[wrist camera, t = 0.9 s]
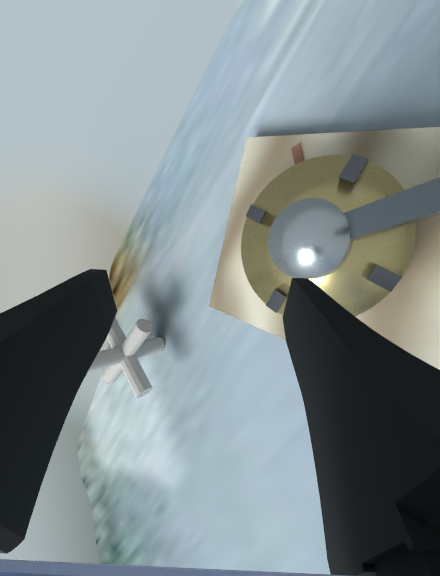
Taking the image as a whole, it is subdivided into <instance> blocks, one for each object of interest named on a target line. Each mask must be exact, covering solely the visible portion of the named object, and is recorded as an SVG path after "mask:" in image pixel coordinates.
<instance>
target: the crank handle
mask: <svg viewBox="0 0 440 576" xmlns="http://www.w3.org/2000/svg"><path fill="white" fill-rule="evenodd" d="M437 215H440V177H438V178H436V179H433V180H430V181H428V182H425V183H422V184H420V185H417V186H414V187H412V188H409V189H406V190H404V189H403V187H402V186H401V184H400V183H399V182H398V181H397V180H396V179H395V178H394V177H393V175H391V174H390V173H389V172H387V171H386V170H385V169H384V168H382V167H380V166H379V165H377V164H375V163H373V162H371V161H369V159H367V158H364V157H360V156H357V155H353V154H352V155H351V156H350V155H324V156H320V157H315V158H311V159H308V160H305V161H302V162H300V163H298V164H296V165H294V166H292V167H290V168H288V169H287V170H285V171H283V172H282V173H281V174H279V175H278V176H277V177H276V178H274V179H273V180H272V181H271V182H270V183H269V184H268V185H267V186H266V187H265V188H264V189H263V191H262V192H261V193H260V194H259V196H258V197H257V199H256V200H255V202H254V203H253V205H252V204H251V205H250V207H249V210H248V212H247V214H246V217H247V218H246V221H245V224H244V227H243V232H242V238H241V257H242V264H243V268H244V271H245V274H246V277H247V279H248V282H249V283H250V285H251V287H252V289H253V290H254V291H255V293H256V294H257V296H258V297H259V298H260V299H261V300H262V301H263V302H264V303H265V304H266V306H267V307H268V308H270V309H271V310H273V311H274V312H275V313H279V314H281V315H283V314H284V310H285V305H286V301H287V297H288V293H289V288H290V284H291V280H292V278H308V279H309V280H311V281H312V282H313V283H315V284H316V285H317V286H318V287H319V288H321V289H322V290H323V291H324V292H325V293H327V294H328V295H329V296H330V297H331V298H333V299H334V300H335V301H336V302H337V303H339V304H340V305H341V306H342V307H344V308H345V309H346V310H347V311H349V312H350V313H351V314H352V315H354V316H357V315H359V314H361V313H363V312H365V311H367V310H369V309H370V308H372V307H373V306H375V305H376V304H378V303H379V302H380V301H381V300H382V299H384V298H385V297H386V296H387V295H388V294H389V293H390V292H391V291H392V290H393V289H394V287H395V286H396V285H397V284H398V282H399V281H400V280H401V278H402V276H403V274H404V273H405V271H406V269H407V266H408V264H409V262H410V260H411V256H412V253H413V249H414V244H415V236H416V227H415V222H417V221H420V220H424V219H427V218H430V217H434V216H437Z"/></svg>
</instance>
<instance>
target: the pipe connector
mask: <svg viewBox="0 0 440 576" xmlns="http://www.w3.org/2000/svg"><path fill="white" fill-rule="evenodd" d="M152 329H153V327H152V324H151V323H150V322H149V321H147V320H145V319H140V320H138V321H137V322H136V324H135V325H134V327H133V328H132V330H131V331H130V333H129V334H128V336H127V337H125V335H124V333H123V331H122V330H121V328H120V326H119V324H118V322H117V320H116V318H114V321H113V324H112V326H111V329H110V331H109V334H108V335H107V339H108V341H109V343H110V345H111V347H112V348H111V349H107V350H103V351H99V352H98V354H97V356H96V358H95V359H94V361H93V363H92V365H91V367H90V369H89V370H88V372H87V373H90V372H93V371H97V370H100V369H103V368H106V369H105V370H104V372H103V374H102V380H103V381H104V382H105V383H108V384H110V383H113V382H115V381H116V379H117V378H118V377H119V375H120V374H121V373H122V371H123V372H124V374H125V376H126V378H127V380H128V382H129V384H130V386H131V388H132V390H133V392H134V394H135V396H136V398H139V397H142V396H144V395H145V394H147V393H148V392H150V391H151V390H152V386H151V384H150V382H149V380H148V378H147V376H146V375H145V373H144V371H143V369H142V367H141V365H140V363H139V361H138V360H137V358H140V357H143V356H146V355H149V354H153V353H156V352H159V351H162V350H163V349H164V347H165V343H164V340H163V339H162V338H161V337H156V338H152V339H148V340H146V338H147V337H148V336H149V334H150V333H151V331H152Z"/></svg>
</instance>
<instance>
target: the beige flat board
mask: <svg viewBox="0 0 440 576" xmlns="http://www.w3.org/2000/svg"><path fill="white" fill-rule="evenodd" d="M352 154H353V155H357V156H360V157H364V158H367V159H369V161H371V162H373V163H375V164H377V165H379V166H380V167H382V168H384V169H385V170H386V171H387V172H389V173H390V174H391V175H393V177H394V178H395V179H396V180H397V181H398V182H399V183H400V184H401V186H402V187H403V189H404V190H406V189H409V188H412V187H414V186H417V185H420V184H422V183H425V182H428V181H430V180H433V179H436V178H438V177H440V127H425V128H407V129H389V130H371V131H353V132H335V133H318V134H300V135H282V136H264V137H247V138H246V143H245V147H244V152H243V156H242V161H241V165H240V170H239V174H238V179H237V183H236V188H235V192H234V197H233V201H232V206H231V210H230V215H229V219H228V224H227V228H226V233H225V237H224V242H223V246H222V251H221V255H220V260H219V264H218V269H217V273H216V278H215V282H214V287H213V291H212V296H211V300H210V305H209V306H210V307H212V308H215V309H217V310H219V311H221V312H224V313H226V314H228V315H231V316H233V317H235V318H237V319H240V320H242V321H244V322H246V323H249V324H251V325H253V326H256V327H258V328H260V329H262V330H265V331H267V332H269V333H272V334H274V335H276V336H278V337H281V338H283V339H285V340H286V337H285V331H284V324H283V315H281V314H279V313H275V312H274V311H273V310H271V309H270V308H268V307H267V306H266V304H265V303H264V302H263V301H262V300H261V299H260V298H259V297H258V296H257V294H256V293H255V291H254V290H253V289H252V287H251V285H250V283H249V282H248V279H247V277H246V274H245V271H244V268H243V264H242V257H241V238H242V232H243V227H244V224H245V221H246V218H247V217H246V214H247V212H248V210H249V207H250V205H251V204H252V205H253V203H254V202H255V200H256V199H257V197H258V196H259V194H260V193H261V192H262V191H263V189H264V188H265V187H266V186H267V185H268V184H269V183H270V182H271V181H272V180H273V179H274V178H276V177H277V176H278V175H279V174H281V173H282V172H283V171H285V170H287V169H288V168H290V167H292V166H294V165H296V164H298V163H300V162H302V161H305V160H308V159H311V158H315V157H320V156H324V155H350V156H351V155H352ZM415 227H416V236H415V244H414V249H413V253H412V256H411V260H410V262H409V264H408V266H407V269H406V271H405V273H404V274H403V276H402V278H401V280H400V281H399V282H398V284H397V285H396V286H395V287H394V289H393V290H392V291H391V292H390V293H389V294H388V295H387V296H386V297H385V298H384V299H382V300H381V301H380V302H379V303H378V304H376V305H375V306H373V307H372V308H370V309H369V310H367V311H365V312H363V313H361V314H359V315H357V316H355V317H356V318H358V319H359V320H360V321H362V322H363V323H365V324H366V325H367V326H369V327H370V328H371V329H373V330H374V331H376V332H377V333H379V334H380V335H382V336H383V337H385V338H386V339H388V340H389V341H391V342H393V343H394V344H396V345H397V346H399V347H400V348H402V349H404V350H405V351H407V352H409V353H410V354H412V355H414V356H415V357H417V358H419V359H421V360H423V361H424V362H426V363H428V364H430V365H432V366H433V367H435V368H437V369H439V370H440V215H437V216H434V217H430V218H427V219H424V220H420V221H417V222H415Z"/></svg>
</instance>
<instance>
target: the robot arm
mask: <svg viewBox="0 0 440 576" xmlns="http://www.w3.org/2000/svg"><path fill="white" fill-rule="evenodd" d="M116 312H117V308H116V305H115V301H114V297H113V293H112V290H111V286H110V282H109V278H108V275H107V271H106V270H97V269H90V270H87V271H85V272H83V273H81V274H79V275H76V276H75V277H72V278H70V279H69V280H67V281H65V282H63V283H61V284H59V285H57V286H55V287H53V288H51V289H49V290H47V291H45V292H44V293H42V294H40V295H38V296H36V297H34V298H32V299H30V300H27V301H25V302H23V303H21V304H19V305H17V306H15V307H13V308H11V309H9V310H7V311H5V312H2V313H0V553H8V552H10V551H12V550H13V549H14V548H15V547H17V546H18V545H19V544H20V543H21V542H22V541H23V540H24V538H25V535H26V531H27V528H28V524H29V521H30V518H31V515H32V512H33V508H34V506H35V503H36V499H37V496H38V493H39V490H40V487H41V484H42V481H43V478H44V475H45V473H46V470H47V467H48V464H49V461H50V458H51V455H52V453H53V450H54V447H55V445H56V442H57V440H58V437H59V434H60V432H61V429H62V427H63V424H64V422H65V419H66V416H67V414H68V412H69V410H70V407H71V405H72V402H73V400H74V398H75V395H76V393H77V391H78V389H79V387H80V385H81V383H82V381H83V379H84V378H85V376H86V374H87V372H88V370H89V369H90V367H91V365H92V363H93V361H94V359H95V358H96V356H97V354H98V352H99V350H100V348H101V347H102V344H103V343H104V341H105V339H106V337H107V335H108V334H109V331H110V329H111V326H112V324H113V321H114V318H115V315H116ZM283 324H284V331H285V337H286V342H287V346H288V349H289V352H290V356H291V359H292V363H293V366H294V369H295V373H296V376H297V379H298V383H299V386H300V389H301V393H302V397H303V401H304V405H305V410H306V416H307V421H308V426H309V431H310V437H311V443H312V449H313V455H314V461H315V467H316V474H317V481H318V488H319V494H320V501H321V509H322V517H323V525H324V533H325V541H326V550H327V559H328V564H329V568H330V573H331V575H325V574H304V573H282V572H261V571H239V570H218V569H197V568H175V567H154V566H132V565H111V564H89V563H67V562H47V561H45V562H44V561H25V560H2V559H0V576H440V370H439V369H437V368H435V367H433V366H432V365H430V364H428V363H426V362H424V361H423V360H421V359H419V358H417V357H415V356H414V355H412V354H410V353H409V352H407V351H405V350H404V349H402V348H400V347H399V346H397V345H396V344H394V343H393V342H391V341H389V340H388V339H386V338H385V337H383V336H382V335H380V334H379V333H377V332H376V331H374V330H373V329H371V328H370V327H369V326H367V325H366V324H365V323H363V322H362V321H360V320H359V319H358V318H356V317H355V316H354V315H352V314H351V313H350V312H349V311H347V310H346V309H345V308H344V307H342V306H341V305H340V304H339V303H337V302H336V301H335V300H334V299H333V298H331V297H330V296H329V295H328V294H327V293H325V292H324V291H323V290H322V289H321V288H319V287H318V286H317V285H316V284H315V283H313V282H312V281H311V280H309V279H308V278H292V280H291V284H290V288H289V293H288V297H287V301H286V305H285V310H284V314H283Z"/></svg>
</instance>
